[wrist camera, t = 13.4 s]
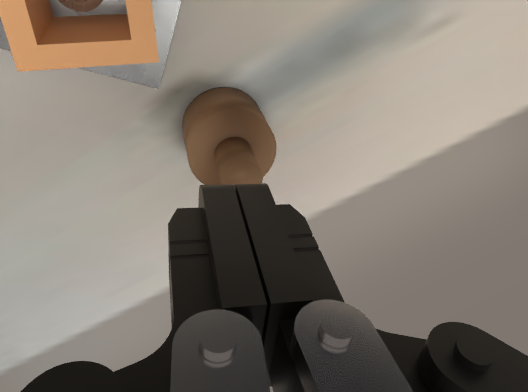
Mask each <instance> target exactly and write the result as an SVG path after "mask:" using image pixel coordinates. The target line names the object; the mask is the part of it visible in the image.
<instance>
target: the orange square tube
mask: <svg viewBox="0 0 528 392" xmlns="http://www.w3.org/2000/svg"><path fill="white" fill-rule="evenodd" d="M125 2H126V8H127V14H108V15H85V16H61V17H53V13H52V9H51V5H50V1H49V0H0V17H1V20H2V23H3V27H4V30H5V33H6V36H7V39H8V42H9V45H10V49H11V52H12V55H13V58H14V61H15V64H16V68H17V71H32V70H48V69H63V68H79V67H94V66H110V65H125V64H141V63H156V62H159V57H158V49H157V41H156V33H155V25H154V17H153V9H152V2H151V0H125Z"/></svg>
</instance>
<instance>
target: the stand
mask: <svg viewBox="0 0 528 392" xmlns="http://www.w3.org/2000/svg"><path fill="white" fill-rule="evenodd" d="M182 130H183V136H184V141H185V146H186V151H187V156H188V161H189V165H190V168H191V170H192V172H193V174H194V175H195V176H196V178H197V179H198V180H199V181H200V182H202V183H203V184H205V185H227V184H232V185H233V186H234V184H261V183H262V180H263V177H264V176H265V174H266V173H267V172H268V171H269V169H270V168H271V166H272V164H273V162H274V159H275V155H276V141H275V137H274V135H273V133H272V131H271V129H270V127H269V125H268V123H267V122H266V120H265V118H264V116H263V114H262V112H261V111H260V109H259V107H258V105H257V104H256V102H255V101H254V100H253V99H252V98H251V97H250V96H249V95H248V94H246V93H245V92H243V91H241V90H238V89H235V88H229V87H219V88H214V89H211V90H208V91H206V92H204V93H202V94H200V95H199V96H198V97H196V98H195V99H194V100H193V101H192V102H191V103H190V105H189V106H188V108H187V110H186V111H185V114H184V117H183V123H182Z"/></svg>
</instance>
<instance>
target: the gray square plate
mask: <svg viewBox="0 0 528 392" xmlns="http://www.w3.org/2000/svg"><path fill="white" fill-rule="evenodd" d="M49 1H50V5H51V9H52V13H53V17H61V16H85V15H108V14H127V8H126V2H125V0H49ZM151 2H152V9H153V17H154V25H155V33H156V41H157V49H158V57H159V62H156V63H141V64H125V65H110V66H94V67H79V69H83V70H87V71H91V72H95V73H99V74H103V75H107V76H110V77H114V78H118V79H122V80H126V81H130V82H134V83H138V84H142V85H145V86H149V87H153V88H157V89H159V87H160V83H161V79H162V75H163V71H164V67H165V63H166V59H167V55H168V51H169V48H170V44H171V40H172V36H173V32H174V28H175V24H176V20H177V16H178V12H179V8H180V4H181V0H151ZM0 48H1V49H5V50H9V51H11V49H10V45H9V42H8V39H7V36H6V33H5V30H4V27H3V23H2V20H1V17H0Z"/></svg>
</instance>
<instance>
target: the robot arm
mask: <svg viewBox="0 0 528 392" xmlns="http://www.w3.org/2000/svg"><path fill="white" fill-rule="evenodd" d="M168 240H169V284H170V303H171V322H172V330H171V332H170V334H169V336H168V338H167V339H166V341H165V342H164V343H163V344H162V346H161V347H160V348H159V349H158V350H156V351H155V352H154V353H153V354H151V355H150V356H148V357H147V358H145V359H143V360H141V361H139V362H137V363H134V364H132V365H129V366H127V367H124V368H122V369H120V370H117V371H115V372H113V371H112V370H110V369H109V368H107V367H105V366H103V365H101V364H99V363H95V362H89V361H77V362H76V361H75V362H69V363H64V364H62V365H59V366H56V367H53V368H52V369H49V370H47V371H45V372H44V373H42V374H41V375H39V376H38V377H36V378H35V379H34V380H33V381H32V382H30V383H29V384H28V385H27V386H26V387H25V388H24V389H23V390H22V391H21V392H270V386H272V387H273V391H274V392H528V356H527V355H525V354H523V353H521V352H520V351H518V350H516V349H514V348H512V347H511V346H509V345H507V344H505V343H504V342H502V341H500V340H498V339H497V338H495V337H493V336H492V335H490V334H488V333H486V332H485V331H482V330H481V329H479V328H477V327H474V326H471V325H468V324H464V323H459V322H447V323H442V324H440V325H438V326H436V327H434V328H433V330H432V331H431V332H430V334H429V336H428V338H427V340H426V339H420V338H414V337H409V336H404V335H398V334H393V333H388V332H384V331H381V330H378V329H376V328H375V327H374V325H373V324H372V322H371V321H370V320H369V319H368V317H367V316H366V315H365V314H363V313H362V312H361V311H360V310H358V309H357V308H355V307H353V306H351V305H349V304H347V303H345V302H344V300H343V298H342V296H341V294H340V292H339V290H338V287H337V285H336V283H335V281H334V279H333V277H332V275H331V272H330V270H329V268H328V266H327V264H326V262H325V260H324V257H323V255H322V253H321V251H320V250H319V249H318V245H317V242H316V240H315V238H314V237H312V232H311V230H310V228H309V225H308V223H307V221H306V219H305V217H304V216H302V215H301V214H300V213H299V212H298V211H297V210H296V209H294V208H293V207H292V206H291V205H290V204H285V205H276V204H275V202H274V199H273V197H272V194H271V192H270V189H269V187H268V185H267V184H266V183H264V184H234V186H233V185H232V184H227V185H200V188H199V208H177V210H176V212H175V213H174V215H173V217H172V218H171V220H170V222H169V223H168Z"/></svg>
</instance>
